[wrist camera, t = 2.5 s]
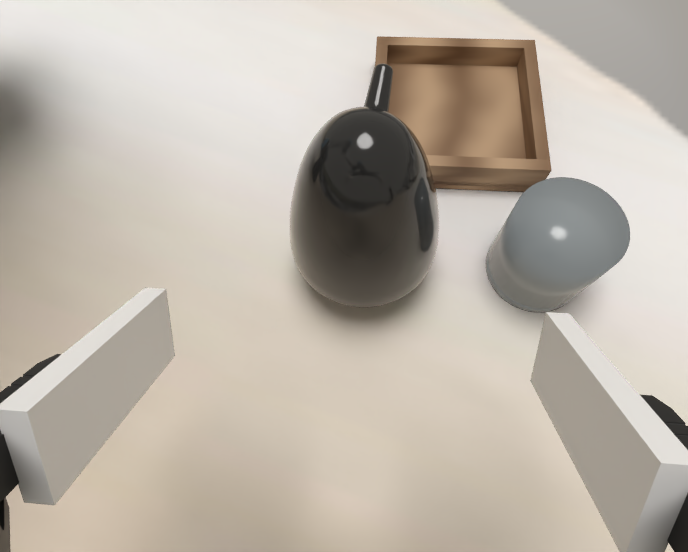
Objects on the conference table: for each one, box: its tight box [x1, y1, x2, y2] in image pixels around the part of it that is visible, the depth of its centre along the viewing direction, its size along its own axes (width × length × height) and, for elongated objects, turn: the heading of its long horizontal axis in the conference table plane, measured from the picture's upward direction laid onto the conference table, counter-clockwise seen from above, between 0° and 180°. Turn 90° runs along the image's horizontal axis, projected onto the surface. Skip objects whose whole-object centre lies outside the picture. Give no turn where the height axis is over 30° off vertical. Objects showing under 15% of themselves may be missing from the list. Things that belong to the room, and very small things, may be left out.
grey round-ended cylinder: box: [486, 177, 630, 312], centre depth 31 cm, size 7×7×7 cm
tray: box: [375, 37, 551, 192], centre depth 39 cm, size 14×14×3 cm
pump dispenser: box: [290, 64, 439, 307], centre depth 28 cm, size 10×10×15 cm
